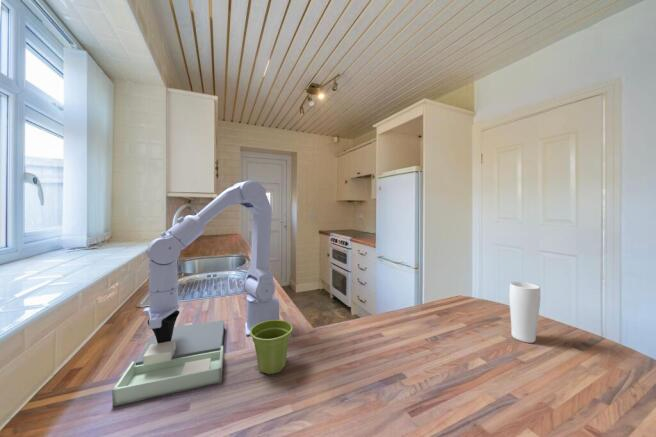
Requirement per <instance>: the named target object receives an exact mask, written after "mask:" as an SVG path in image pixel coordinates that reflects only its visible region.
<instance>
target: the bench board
mask: <svg viewBox="0 0 656 437" xmlns="http://www.w3.org/2000/svg"><path fill="white" fill-rule="evenodd" d="M224 332H225V320H224V319H222V320H215V321H208V322H201V323H195V324H194V323H193V324H186V325H182V326H181V325H180V326H179V325H178V326H174V329H173V334H172V339H171V341H176V350H175V352H174V354H173V357H172V359H175V358H181V357H186V356H192V355H197V354H203V353H208V352H214V351H219V350H221V346H224V344H223V343H224V335H225V334H224ZM151 344H157V340H156V336H155V334H154V333H153V336H152V337H151V338H150V340H149V341H148V343H147V344H146V346H145V348H144V349H143V350H142V352H141V354H140V355H139V357H138V358H137V360H136V361H135V366H136V365H142V364H143V356H144V354H145V353H146V351H147V350H148V348H149V346H150V345H151Z"/></svg>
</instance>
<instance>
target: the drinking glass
mask: <svg viewBox="0 0 656 437" xmlns="http://www.w3.org/2000/svg"><path fill="white" fill-rule="evenodd" d="M508 304H509V313H510V314H509V316H510V325H511V327H510V329H511V332H510V334H511V336H512V337H513V339H515V340H517V341H520V342H523V343H527V344H530V343H535V342H536V340H537V329H538V328H537V327H538V322H539V321H538V320H539V314H540V309H541V308H540V307H541V287H540V286H539V285H536V284H534V283H530V282H525V281H524V282H523V281H511V282H509V287H508Z"/></svg>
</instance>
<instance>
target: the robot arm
mask: <svg viewBox="0 0 656 437" xmlns="http://www.w3.org/2000/svg"><path fill="white" fill-rule="evenodd" d="M234 205H240V206H243V207H245V208H246V209H247V210H248V211H249V212H250V213H251V214H252V230H251V232H252V233H251V250H250V252H251V253H250V254H251V255H250V266H249V268H248V269H247V271H246V276H245V278H244V280H243V284H242V286H243V290H244V292H245V293H246V294H247V295H246V322H245V323H244V325H245V326H244V328H245V336H251V335H250V330H251V328H252V327H253V326H255V325H256V324H258V323H261V322H264V321H268V320H280V302H279V297H278V296H275V293H276V290H277V288H276V284H275V282H274V273H273V272H272V270H271V268H270V257H271V256H270V252H271V251H270V250H271V235H272V234H271V233H272V232H271V230H272V216H273V215H272V213H273V212H272V211H273V210H272V205H271V203H270V200H269V198H268V195H267V189H266V188H265V187H264V185H262V183H261V182H259V181H258V180H255V179H249V180H246V181H243V182H237V183H235V184H233V185H232V186H230V187H228V188H227V189H225V190H223V192H221V193H219V194H218V195H217V197H215V198H214V199H213V200H212V201H210V202H209V203H208V204H207V205H205V207H204V208H203V209H201V210H200V211H199V212H197V214H196V215H193V214H192V215H190V214H189V215H186V216H185V217H184V216H180V217H179V218H177V219H176V220H177V223H176V224H174V225H173V226H172V227H170V228H169V229H168V230H167V231H165V230H164V231H162V232H160V234H159V235H160V236H161V237H158V238H157V237H156V238H154V239H153V240H152V241H151V242H150V243H149V244H148V247H147V249H146V250H145V251H146V252H145V253H146V255H147V256H148V257H149V263H148V268H149V270H148V301H149V303H148V305H149V307H145V308H144V309H143V310H142V313H143V314H148V316H149V318H148V320H147V325H148V330H152V332H153V335H154V334H155V336H156V340H157V343H163V342H169V341H171V339H172V334H173V329H174V327H175V326H176V325H175V324H176V322H177V319H178V317H179V315H180V310H179V308H180V303H179V277H178V276H179V270H178V262H177V260H178V259H179V257H180V255H181V251H183V250H185V249H186V248H187V247H188V246H189V245H191V244H192V243H193V242H194V241H196V239H198V238H199V237H200V236H201V235H203V234H204V233H205V231H206V230H205V228H206V224H207V223H209V222H210V221H212V220H213V219H214V218H216V217H217V216H218V215H219V214H220V213H223V211H225V209H227V208H228V207H230V206H234Z"/></svg>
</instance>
